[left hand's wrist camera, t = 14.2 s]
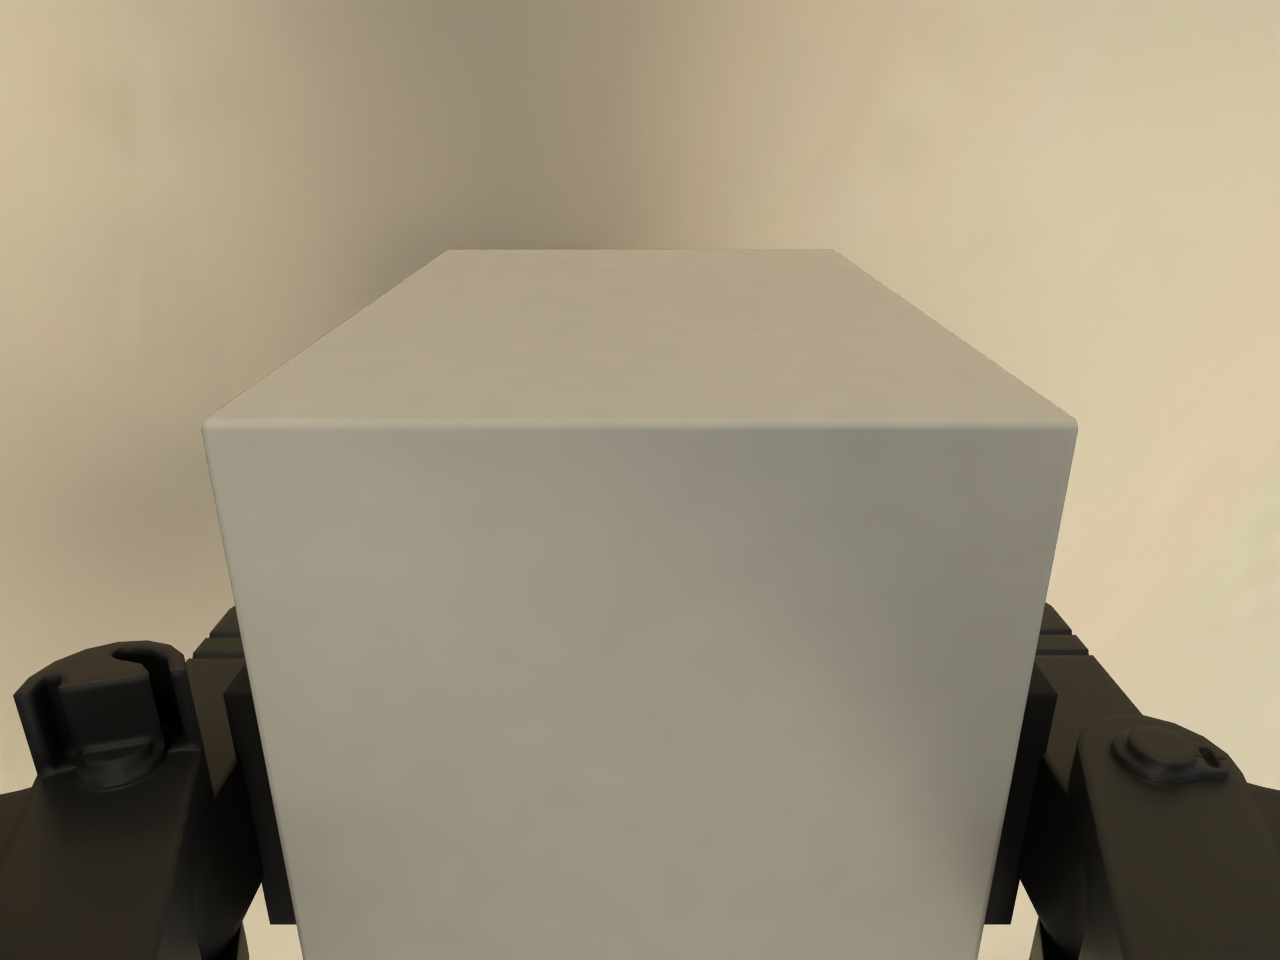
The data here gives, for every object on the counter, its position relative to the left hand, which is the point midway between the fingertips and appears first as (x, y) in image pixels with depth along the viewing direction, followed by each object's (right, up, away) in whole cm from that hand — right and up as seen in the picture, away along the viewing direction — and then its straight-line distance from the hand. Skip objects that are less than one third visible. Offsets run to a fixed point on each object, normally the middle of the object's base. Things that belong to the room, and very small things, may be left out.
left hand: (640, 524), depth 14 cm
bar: (0, -29, +12) cm, 31 cm away
